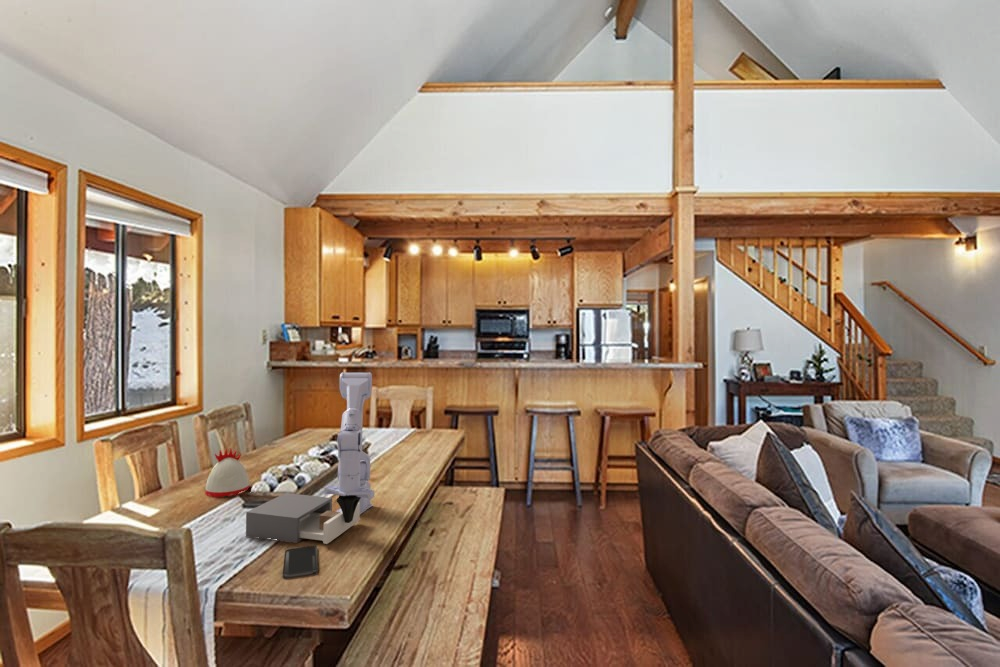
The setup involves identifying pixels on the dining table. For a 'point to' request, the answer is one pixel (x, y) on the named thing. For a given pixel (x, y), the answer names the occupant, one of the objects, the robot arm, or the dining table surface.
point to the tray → (326, 526)
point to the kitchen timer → (227, 476)
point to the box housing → (284, 516)
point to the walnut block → (326, 517)
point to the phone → (300, 562)
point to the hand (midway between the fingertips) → (348, 521)
